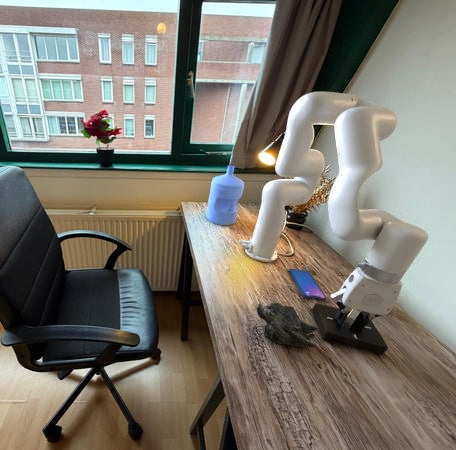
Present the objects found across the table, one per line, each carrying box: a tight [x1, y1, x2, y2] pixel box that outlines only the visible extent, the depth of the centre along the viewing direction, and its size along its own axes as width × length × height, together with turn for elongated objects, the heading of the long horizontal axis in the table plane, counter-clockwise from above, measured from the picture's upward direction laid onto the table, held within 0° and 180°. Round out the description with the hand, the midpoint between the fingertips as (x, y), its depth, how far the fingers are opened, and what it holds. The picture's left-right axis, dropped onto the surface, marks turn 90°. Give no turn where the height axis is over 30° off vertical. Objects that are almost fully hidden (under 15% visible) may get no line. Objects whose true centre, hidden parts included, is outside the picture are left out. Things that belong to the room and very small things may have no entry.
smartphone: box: [288, 268, 327, 301], centre depth 86 cm, size 7×1×15 cm
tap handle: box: [341, 308, 361, 330], centre depth 67 cm, size 6×2×4 cm, turn 128°
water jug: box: [205, 164, 245, 226], centre depth 123 cm, size 16×16×28 cm
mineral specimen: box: [255, 301, 319, 349], centre depth 66 cm, size 15×13×10 cm
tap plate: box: [311, 302, 389, 356], centre depth 69 cm, size 14×11×3 cm
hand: (348, 322), depth 68 cm, fingers open, 4 cm apart
